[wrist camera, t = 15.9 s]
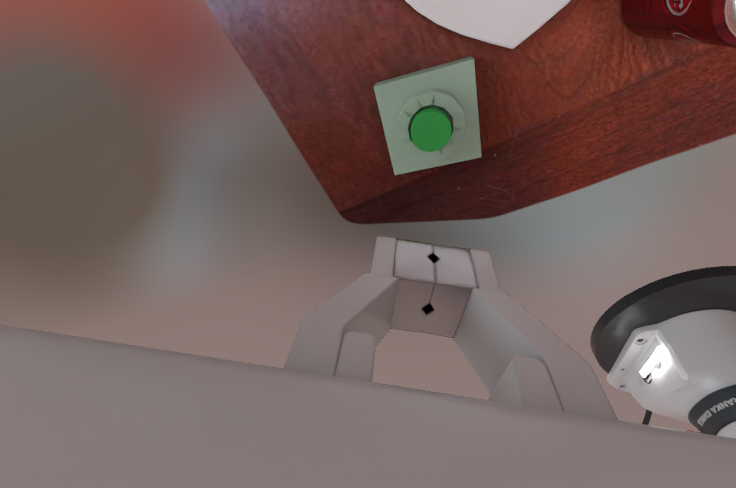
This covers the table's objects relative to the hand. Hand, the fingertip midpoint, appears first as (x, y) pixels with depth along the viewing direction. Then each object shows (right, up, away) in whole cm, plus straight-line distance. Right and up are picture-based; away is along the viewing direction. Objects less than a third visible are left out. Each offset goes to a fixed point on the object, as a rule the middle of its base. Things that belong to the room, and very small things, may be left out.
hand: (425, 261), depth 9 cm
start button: (+5, +13, +24) cm, 28 cm away
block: (+5, +15, +27) cm, 31 cm away
